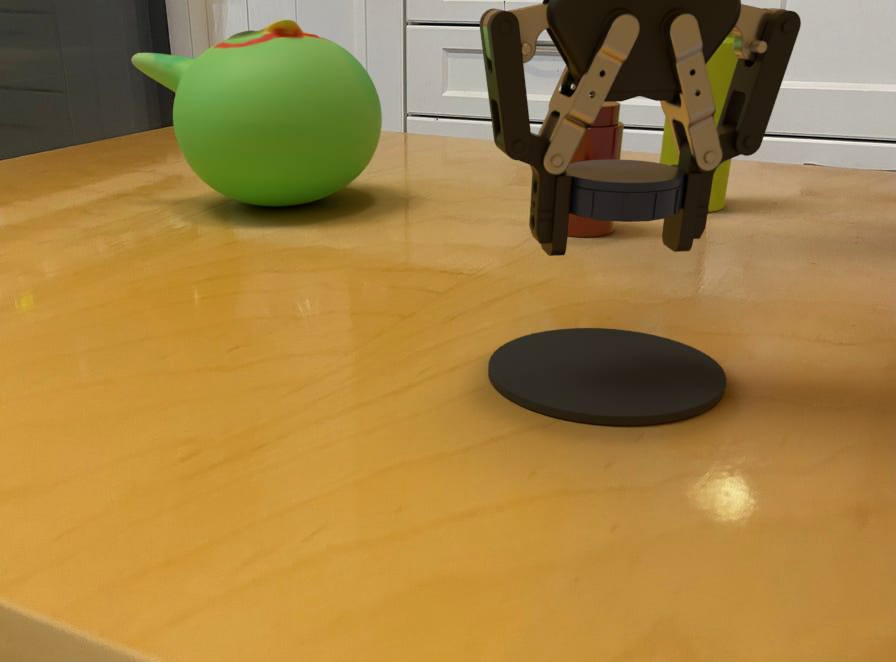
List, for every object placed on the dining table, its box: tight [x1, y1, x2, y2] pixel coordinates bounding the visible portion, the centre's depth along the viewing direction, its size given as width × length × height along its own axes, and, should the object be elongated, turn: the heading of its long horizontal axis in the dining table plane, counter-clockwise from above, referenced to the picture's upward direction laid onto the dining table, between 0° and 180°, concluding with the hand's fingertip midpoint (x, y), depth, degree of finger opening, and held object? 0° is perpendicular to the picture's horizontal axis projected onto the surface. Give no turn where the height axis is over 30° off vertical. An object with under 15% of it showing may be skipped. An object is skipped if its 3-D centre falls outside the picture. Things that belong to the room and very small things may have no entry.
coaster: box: [487, 327, 727, 427], centre depth 48 cm, size 12×12×1 cm
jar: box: [567, 102, 625, 238], centre depth 73 cm, size 5×5×9 cm
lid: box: [566, 159, 685, 223], centre depth 44 cm, size 6×6×2 cm
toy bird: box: [131, 18, 383, 207], centre depth 80 cm, size 18×17×15 cm
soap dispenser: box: [659, 31, 738, 213], centre depth 78 cm, size 6×7×20 cm
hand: (615, 248), depth 45 cm, fingers closed on lid, 5 cm apart
